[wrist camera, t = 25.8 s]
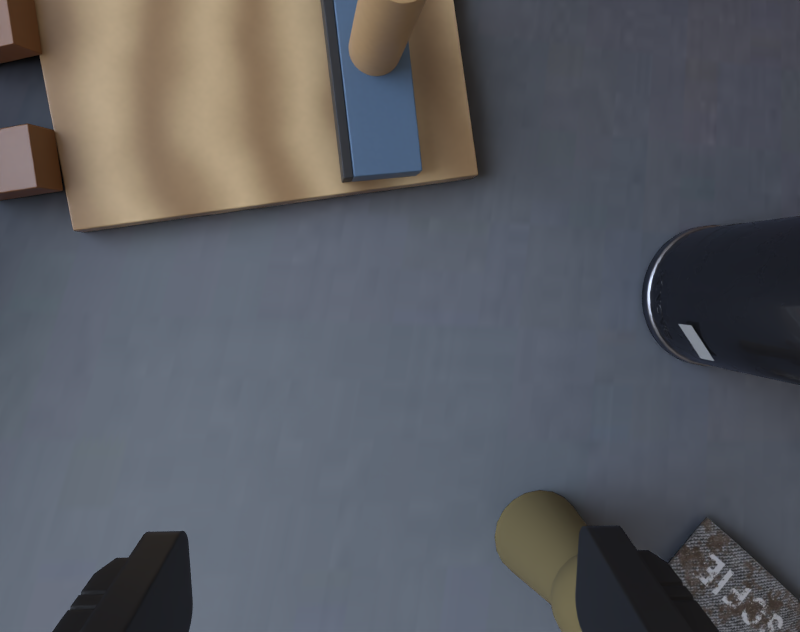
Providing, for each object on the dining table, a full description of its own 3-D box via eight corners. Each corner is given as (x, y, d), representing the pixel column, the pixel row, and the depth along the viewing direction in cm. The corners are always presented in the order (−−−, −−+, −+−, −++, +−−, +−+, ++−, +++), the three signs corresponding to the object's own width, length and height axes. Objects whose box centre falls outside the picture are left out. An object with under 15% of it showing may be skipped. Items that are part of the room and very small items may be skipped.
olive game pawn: (511, 479, 43) (581, 546, 33) (592, 503, 44) (687, 576, 34) (482, 565, 43) (543, 661, 33) (564, 588, 44) (649, 687, 34)
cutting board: (438, -63, 41) (443, -76, 39) (472, 178, 42) (478, 174, 40) (31, -29, 37) (20, -41, 36) (81, 232, 39) (72, 230, 37)
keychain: (714, 497, 46) (733, 507, 44) (885, 657, 49) (909, 673, 47) (643, 583, 45) (658, 597, 43) (819, 739, 48) (841, 759, 46)
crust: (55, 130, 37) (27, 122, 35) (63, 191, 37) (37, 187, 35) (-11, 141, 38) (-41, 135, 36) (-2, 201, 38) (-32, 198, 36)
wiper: (391, -62, 39) (430, -211, 27) (416, 176, 40) (465, 132, 28) (313, -59, 38) (318, -210, 26) (341, 183, 39) (358, 141, 27)
